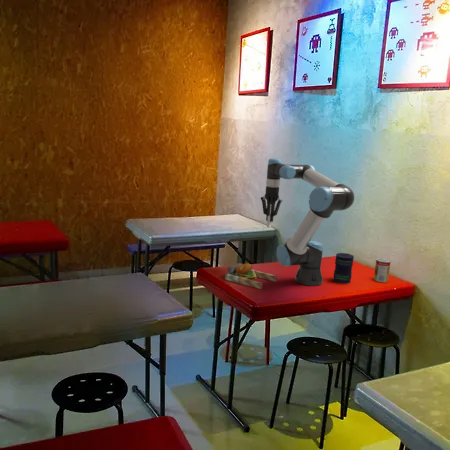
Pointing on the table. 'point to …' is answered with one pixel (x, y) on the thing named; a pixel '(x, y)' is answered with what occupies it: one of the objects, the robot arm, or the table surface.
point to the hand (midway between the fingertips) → (268, 226)
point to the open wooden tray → (233, 277)
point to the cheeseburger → (245, 271)
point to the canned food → (382, 270)
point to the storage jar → (343, 268)
